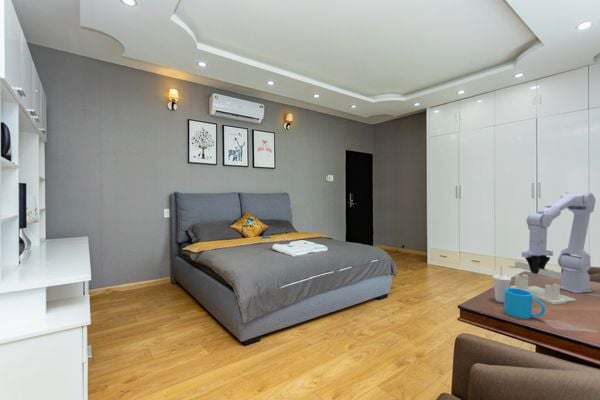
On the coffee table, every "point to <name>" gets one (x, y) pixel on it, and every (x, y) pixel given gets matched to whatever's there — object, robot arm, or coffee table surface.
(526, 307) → the mug
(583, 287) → the robot arm
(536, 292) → the rack
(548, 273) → the rail
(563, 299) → the mat
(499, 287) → the smoothie
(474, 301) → the coffee table surface
